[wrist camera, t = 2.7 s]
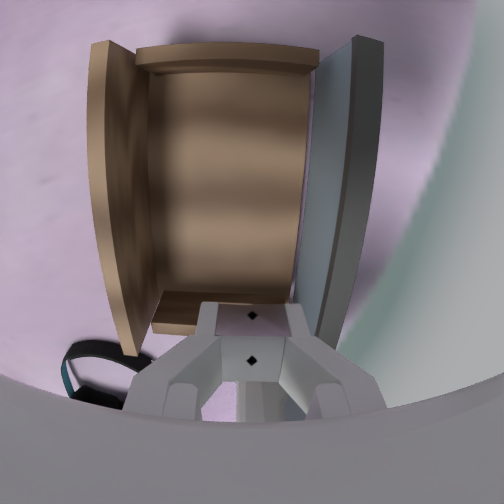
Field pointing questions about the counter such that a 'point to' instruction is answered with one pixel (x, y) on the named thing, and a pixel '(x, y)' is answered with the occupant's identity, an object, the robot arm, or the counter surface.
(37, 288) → the counter surface
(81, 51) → the counter surface
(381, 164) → the counter surface
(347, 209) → the panel
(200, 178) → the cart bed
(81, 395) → the virtual reality headset
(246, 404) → the canister
